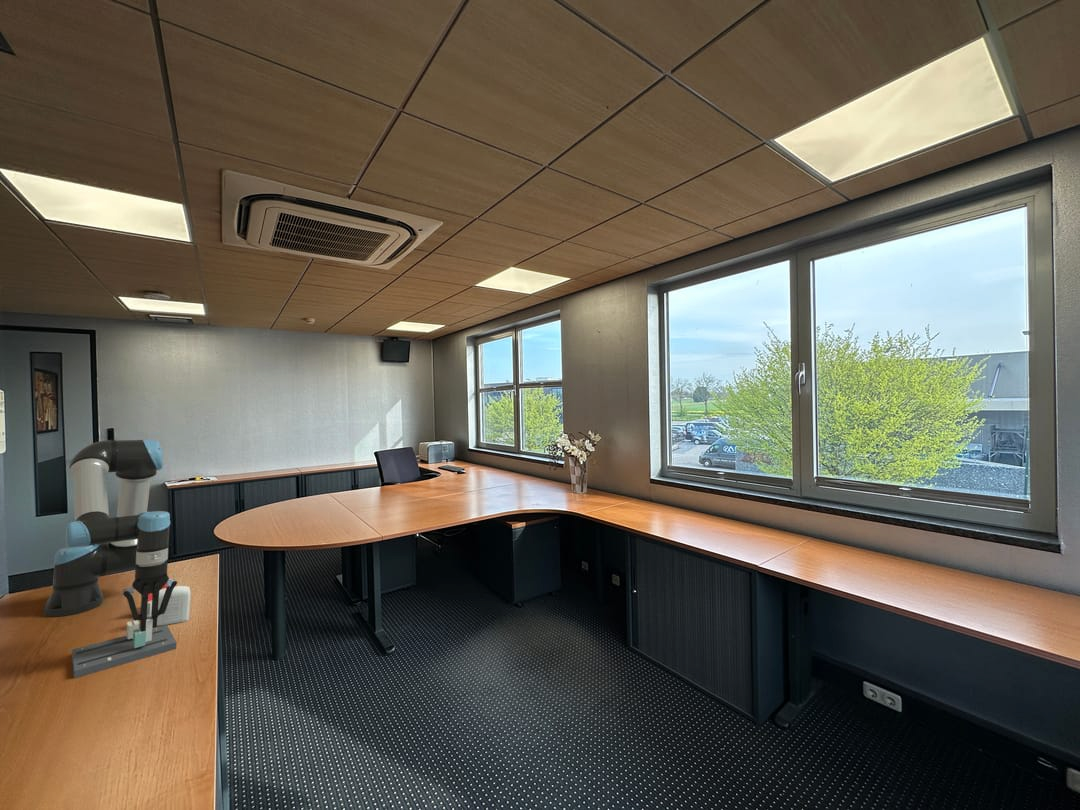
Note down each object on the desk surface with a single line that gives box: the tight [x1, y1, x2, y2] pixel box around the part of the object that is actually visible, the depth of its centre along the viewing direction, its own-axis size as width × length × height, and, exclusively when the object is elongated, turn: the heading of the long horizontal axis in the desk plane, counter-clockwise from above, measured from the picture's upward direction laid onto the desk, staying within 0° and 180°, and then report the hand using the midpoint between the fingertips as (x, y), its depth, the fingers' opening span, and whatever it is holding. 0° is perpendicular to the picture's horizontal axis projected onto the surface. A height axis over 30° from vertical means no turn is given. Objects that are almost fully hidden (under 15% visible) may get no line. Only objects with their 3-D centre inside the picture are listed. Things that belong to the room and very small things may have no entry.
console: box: [71, 624, 177, 679], centre depth 135 cm, size 16×22×2 cm
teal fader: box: [133, 628, 146, 648], centre depth 134 cm, size 4×2×5 cm, turn 49°
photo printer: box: [156, 585, 192, 627], centre depth 154 cm, size 10×4×12 cm, turn 123°
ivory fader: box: [125, 619, 140, 639], centre depth 139 cm, size 4×2×5 cm, turn 49°
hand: (147, 639), depth 136 cm, fingers closed
